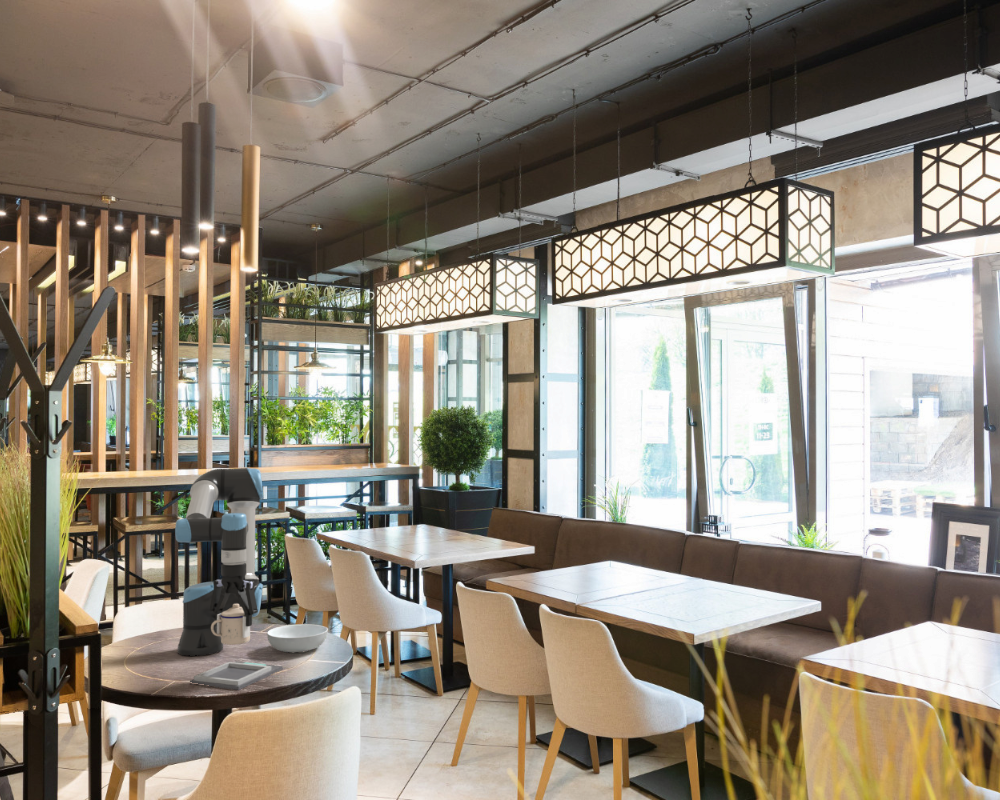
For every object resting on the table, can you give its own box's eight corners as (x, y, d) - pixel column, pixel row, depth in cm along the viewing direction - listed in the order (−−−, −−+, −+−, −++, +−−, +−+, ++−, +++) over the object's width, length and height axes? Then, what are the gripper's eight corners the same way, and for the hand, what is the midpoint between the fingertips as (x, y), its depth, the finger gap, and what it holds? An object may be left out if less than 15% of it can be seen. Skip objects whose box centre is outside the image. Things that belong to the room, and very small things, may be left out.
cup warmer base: (189, 684, 248) (189, 676, 248) (236, 664, 268) (236, 657, 269) (238, 690, 242) (238, 682, 242) (282, 669, 262) (282, 662, 262)
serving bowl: (339, 649, 286) (339, 630, 286) (286, 661, 271) (286, 641, 272) (308, 639, 301) (308, 620, 301) (256, 650, 286) (256, 630, 286)
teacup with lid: (247, 636, 261) (247, 600, 261) (253, 642, 253) (254, 605, 253) (208, 641, 255) (208, 604, 255) (213, 648, 247) (214, 609, 247)
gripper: (197, 563, 255) (196, 635, 254) (255, 566, 247) (254, 641, 246) (213, 559, 262) (213, 630, 261) (270, 562, 254) (269, 635, 253)
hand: (233, 635), depth 253 cm, fingers closed on teacup with lid, 9 cm apart
